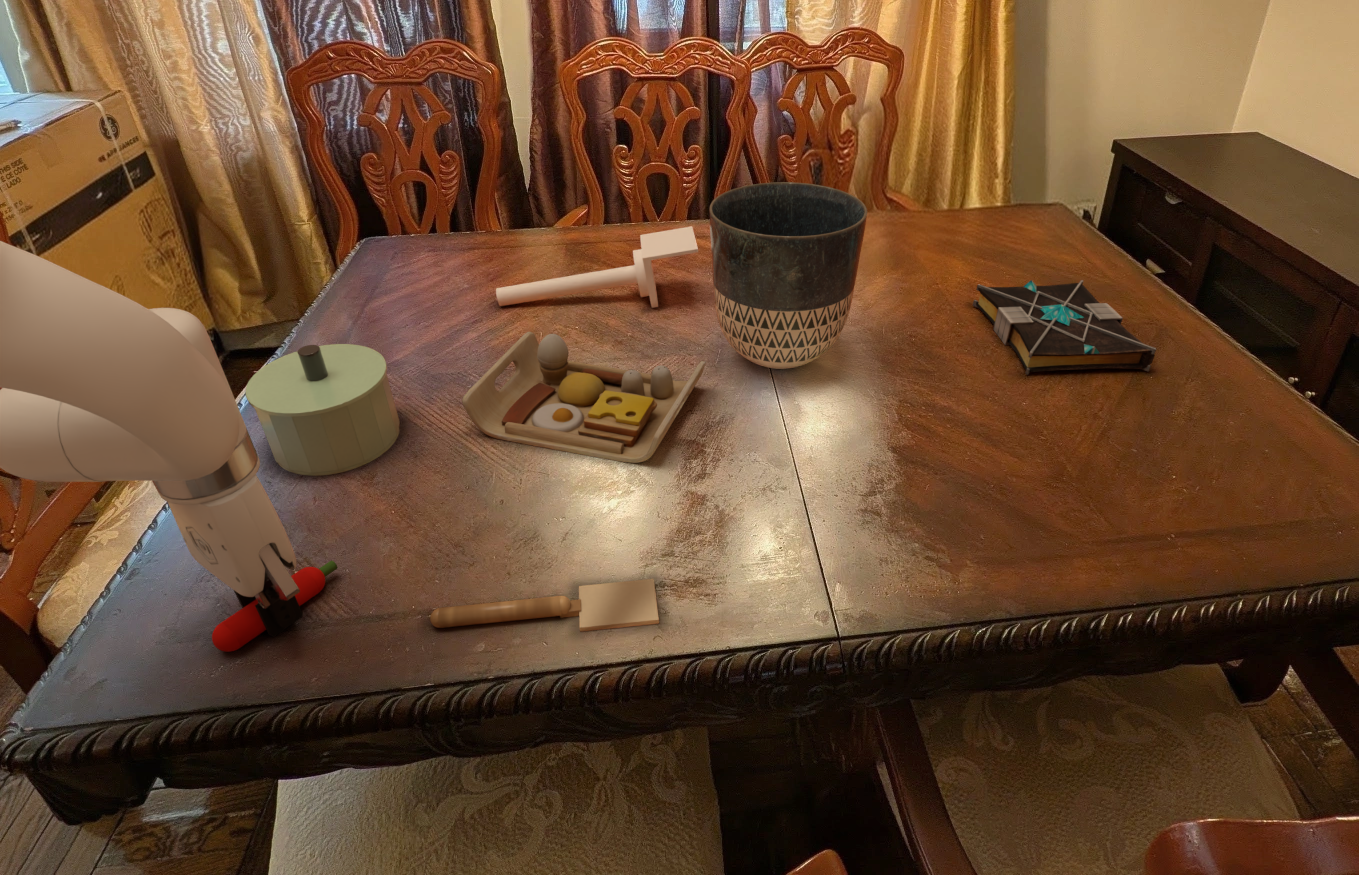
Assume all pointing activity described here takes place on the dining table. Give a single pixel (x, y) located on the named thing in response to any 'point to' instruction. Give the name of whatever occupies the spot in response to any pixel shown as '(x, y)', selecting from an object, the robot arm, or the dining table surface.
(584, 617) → the spatula
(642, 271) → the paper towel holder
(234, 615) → the chili pepper
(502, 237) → the dining table surface
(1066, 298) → the book
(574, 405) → the toy food set
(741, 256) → the planter
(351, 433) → the pot
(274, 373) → the pot lid
